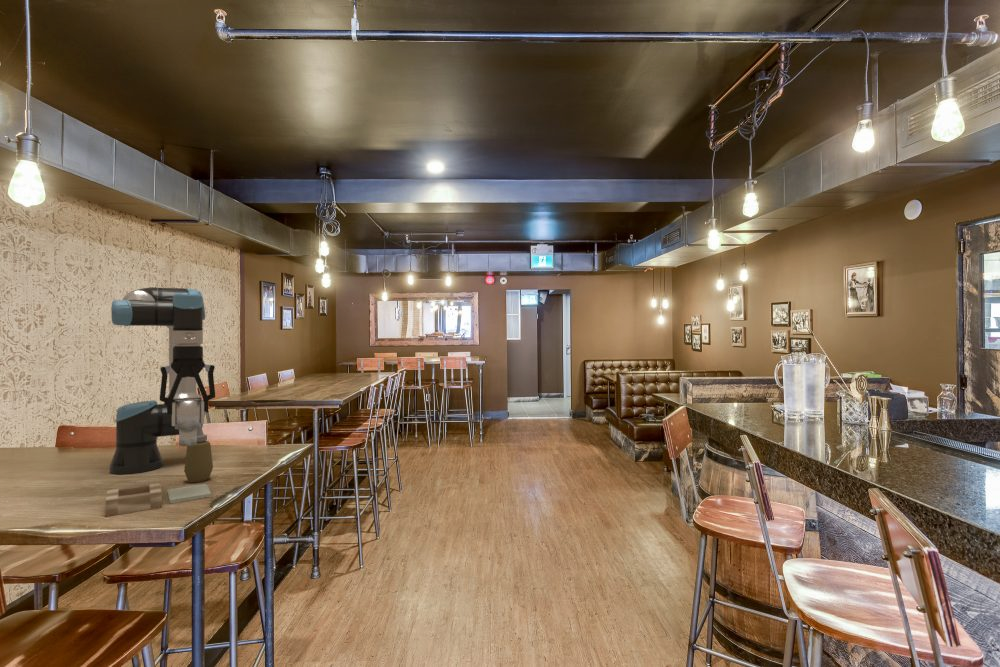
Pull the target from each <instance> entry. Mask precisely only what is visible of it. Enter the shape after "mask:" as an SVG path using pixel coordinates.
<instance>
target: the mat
mask: <svg viewBox="0 0 1000 667" xmlns="http://www.w3.org/2000/svg"><path fill="white" fill-rule="evenodd" d="M166 493H167V496H168V502H169V504H170V503H171V504H177V503H181V501H183V502H188V500H189V501H194V500H193V499H195V500H199V499H198V498H201V499H205V498H204V497H207V498H210V497H209V496H211V497H212V492H211V490H210V489H209V487H208V485H207V483H203V484H196V485H188V486H182V487H176V488H170V489H167V492H166ZM176 502H177V503H176Z"/></svg>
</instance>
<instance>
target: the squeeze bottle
mask: <svg viewBox="0 0 1000 667" xmlns="http://www.w3.org/2000/svg"><path fill="white" fill-rule="evenodd" d="M211 447H212V446H211V442H210V441H209V440H208V434H204V431H203V427H198V428H197V444H195V445H191V446H186V454H185V462H184V469H183V472H184V474H185V476H186V480H187V482H189V483H199V482H198V481H201V482H205V481H208V480H210V477H211V474H212V471H213V469H214V464H213V456H212V448H211ZM207 479H208V480H207ZM204 480H205V481H204Z"/></svg>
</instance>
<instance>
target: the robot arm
mask: <svg viewBox="0 0 1000 667" xmlns="http://www.w3.org/2000/svg"><path fill="white" fill-rule="evenodd" d="M110 313H111V323H112V324H113V325H115V326H125V327H129V326H135V327H137V326H138V327H139V326H141V327H143V326H144V327H145V326H146V327H147V326H152V327H153V326H154V327H156V326H157V327H166V328H167V329H168V365H166V366H160V368H159V369H160V373H161V382H160V390H159V391H160V392H159V401H160V402H161V403H158V402H157V400H155V399H154V400H144V401H139V402H138V401H137V402H132V403H128V404H124V405H121V406H119V407H118V408H117V410H116V414H115V415H116V417H115V423H116V428H115V429H116V431H115V434H116V435H115V436H116V437H115V446H116V447H115V451H114V454H113V456H112V459H111V461H110V464H109V473H110V474H115V475H127V474H128V475H129V474H130V475H131V474H137V473H144V472H149V471H153V470H156V469H159V468H162V467H163V465H164V464H163V463H164V462H163V460H164V459H163V457H162V454H161V451H160V449H159V447H158V442H157V441H158V440H157V438H160V437H169V436H171V437H172V436H179V429H175V400H182V399H201V427H202V428H203V427H204V424H205V416H206V412H208V411H209V401H210V400H212V399H215V397H216V390H215V381H214V380H215V378H214V372H215V368H216V367H215V365H213V364H206V363H205V362H204V347H203V346H202V344H204V336H203V335H204V330H203V326H204V324H203V323H204V322H203V321H204V320H206V308H205V303H204V298H203V293H202V292H201V291H200V290H198V289H193V288H187V287H186V288H183V287H182V288H181V287H180V288H179V287H178V288H177V287H176V288H175V287H159V286H158V287H157V286H155V287H154V286H153V287H151V286H150V287H143V288H139V289H135V290H132V291H130V292H127V293H126V294H125V295H124V296H123V297H122V299H114V300H113V301H111V312H110ZM204 368H205V372H207V380H208V381H207V382H208V389H209V394H208V392H206V388H205V386H204V384H203V382H202V381H203V380H202V378H201V376H200V373H201V372H202V370H203V369H204ZM167 382H168V383H167ZM167 384H168V394H167V395H166V392H167ZM197 388H198V390H199V392H200V394H201V395H200V394H199V393H198V392H197Z"/></svg>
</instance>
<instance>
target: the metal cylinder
mask: <svg viewBox="0 0 1000 667" xmlns="http://www.w3.org/2000/svg"><path fill="white" fill-rule="evenodd" d="M201 401H202V398H201V399H182V400H175V429H179V435H178V442H179V443H178V446H180V447H187V446H191V445H195V444H197V428H198V427H201Z"/></svg>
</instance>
